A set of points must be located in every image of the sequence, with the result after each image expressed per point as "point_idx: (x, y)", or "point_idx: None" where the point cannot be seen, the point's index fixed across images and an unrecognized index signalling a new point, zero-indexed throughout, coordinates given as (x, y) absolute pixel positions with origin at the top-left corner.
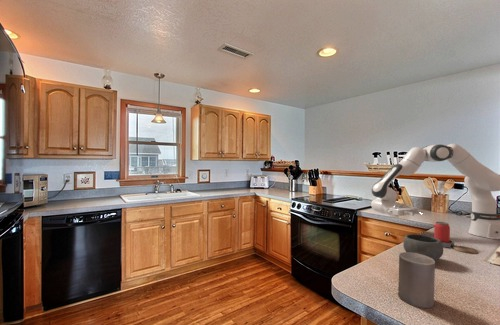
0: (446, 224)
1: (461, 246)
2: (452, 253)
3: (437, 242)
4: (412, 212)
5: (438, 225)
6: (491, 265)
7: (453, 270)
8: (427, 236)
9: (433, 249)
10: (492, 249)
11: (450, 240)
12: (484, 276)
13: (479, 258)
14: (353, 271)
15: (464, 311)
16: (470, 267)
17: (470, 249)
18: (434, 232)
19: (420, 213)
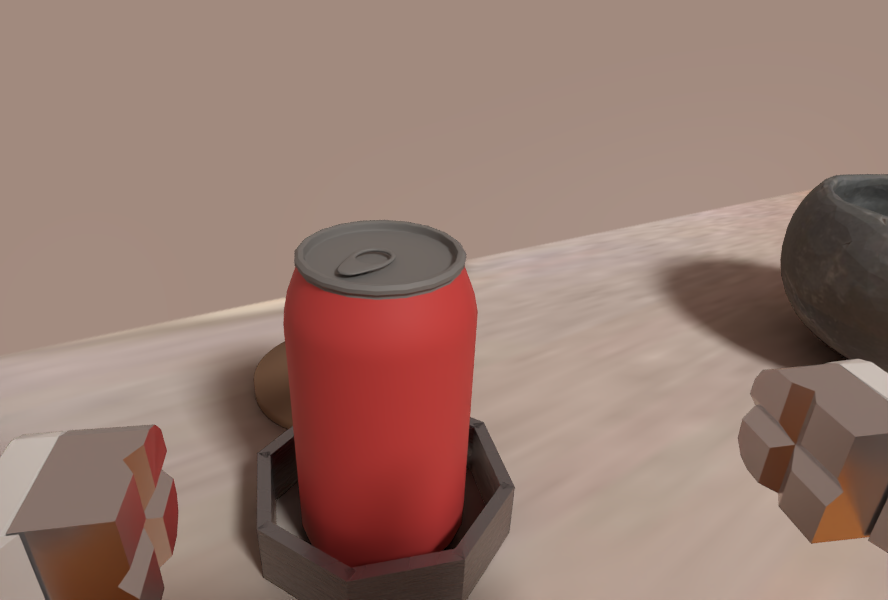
0: (402, 224)
1: (289, 403)
2: (536, 371)
3: (868, 174)
4: (818, 376)
5: (469, 280)
6: (486, 263)
7: (766, 273)
8: (880, 217)
9: None
10: (65, 351)
11: (285, 442)
12: (657, 237)
13: None
14: None
15: None
16: (636, 272)
17: None
18: (445, 437)
19: (154, 546)
